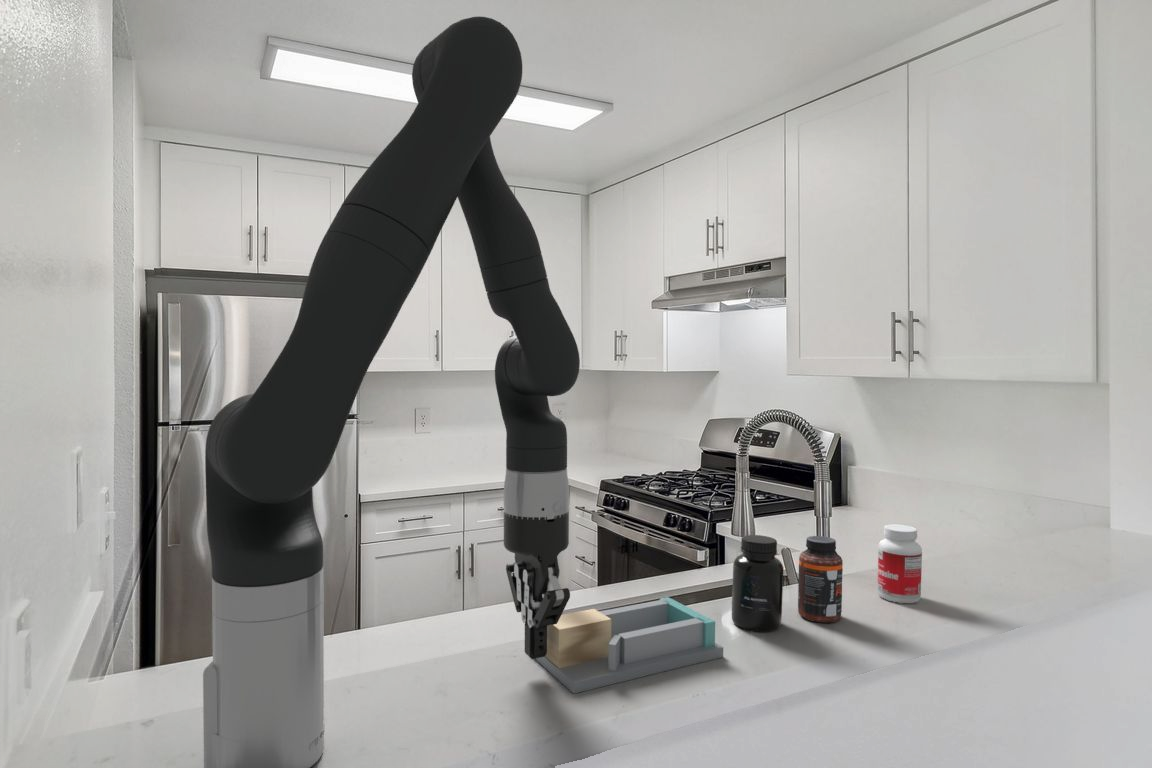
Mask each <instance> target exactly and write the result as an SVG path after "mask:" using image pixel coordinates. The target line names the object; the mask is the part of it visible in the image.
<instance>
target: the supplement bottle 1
mask: <svg viewBox="0 0 1152 768" xmlns="http://www.w3.org/2000/svg"><path fill="white" fill-rule="evenodd" d="M740 545H741V546H740V552H741V554H740V555H738V556H736V557H735V558H734V560H733V565H732V566H733V567H732V589H731V590H732V591H731V593H732V594H731V620H732V623H734V625H736V626H737V627H738V628H740V629H743V630H746V631H751V632H757V633H758V632H759V633H767V632H769V633H770V632H773V631H776V630H778V629H780V627H781V625H782V619H783V618H782V617H783V598H784V597H783V593H784V592H783V591H784V590H783V589H784V565H783V563H782V561H781V560H780V559H778V558H777V557H776V556H777V554H778V549H777V547H778V541H777V539H776V538H774V537H771V536H766V535H760V534H749V535H743V536H742V537H741V543H740Z"/></svg>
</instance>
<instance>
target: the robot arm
mask: <svg viewBox="0 0 1152 768" xmlns="http://www.w3.org/2000/svg"><path fill="white" fill-rule="evenodd" d="M522 78H523V58H522V53H521V50H520V47H519V44H518V41H517V40H516V38H515V36H514V34H513V33H512V32H511V30H510V29H509V28H508V27H507V26H505V25H504V24H503V23H501V21H499V20H496V19H494V18H492V17H491V18H490V17H486V16H472V17H467V18H463V19H460V20H458V21H456V22H454V23H451V25H449V26H448V27H446V28H445V29H444V30H443V31H442V32H440V33H439V34H438V35H436V37H435V38H433V39H432V40H431V41H429V42H428V43H427V44H426V45H425V46H424V47H423V48H422V49H421V50H420V51H419V52H418V54H417V56H416V57H415V60H414V63H413V65H412V73H411V79H412V88H413V90H414V91H413V92H414V95H415V98H416V100H417V105H416V106H415V109H414V110H413V111H412V113H411V115H410V117H409V118H408V120H407V121H406V122H405V124H404V125H403V127H401V129H400V131H399V132H398V133H397V134H396V135H394V138H393V139H391V141H390V142H389V143H388V144H387V145H386V147H384V149H383V150H382V151H381V152H380V154H378V156H377V157H376V158H375V159H374V160H373V162H372V163H371V164H370V165H369V167H368V168H367V169H366V170H365V171H364V172H363V174H362V175H361V177H360V178H359V179H358V180H357V182H356V183H355V184H354V186H353V187H352V189H351V190H350V191H349V192H348V194H347V196H346V197H345V199H344V201H343V202H342V204H341V206H340V207H339V209H338V210H337V213H336V214H335V216H334V218H333V219H332V222H331V223H330V225H329V227H328V229H327V231H326V232H325V234H324V236H323V238H322V240H321V242H320V245H319V247H318V249H317V250H316V254H315V256H314V258H313V261H312V264H311V267H310V270H309V274H308V276H307V280H306V284H305V288H304V290H303V291H304V292H303V297H302V300H301V303H300V308H299V310H298V315H297V318H296V321H295V324H294V326H293V329H292V331H291V333H290V335H289V337H288V339H287V341H286V343H285V345H284V347H283V348H282V350H281V351H280V354H279V355H278V356H277V358H276V360H275V361H274V362H273V365H272V367H271V368H270V369H269V370H268V373H267V374H266V376H265V377H264V378H263V379H262V381H261V383H260V384H259V385H258V387H257V388H256V389H255V391H254V392H253V393H249V394H246V395H245V394H244V395H242V396H240V397H237V398H235V399H233V400H232V401H230V402H228V403H227V404H226V405H224V406H223V407H222V408H221V409H220V411H218V413H217V414H216V415H215V416H214V418H213V419H212V421H211V424H210V425H209V427H208V432H207V436H206V441H205V451H204V452H205V453H204V454H205V455H204V459H205V461H204V462H205V464H204V465H205V466H204V467H205V471H204V472H205V473H204V474H205V502H206V503H205V504H206V531H207V532H206V534H207V541H208V545H209V552H210V558H211V559H210V560H211V587H212V588H211V589H212V590H211V591H212V592H211V596H212V597H211V598H212V599H211V601H212V602H211V603H212V604H211V605H212V607H211V608H212V609H211V610H212V661H211V662H210V663H209V664H208V665H207V666H206V667H205V668H204V670H203V672H202V689H203V690H202V699H203V700H202V701H203V703H202V705H203V706H202V707H203V709H202V710H203V711H202V712H203V718H202V719H203V722H202V723H203V725H202V726H203V768H311V767H312V766H314V765H315V764H316V763H317V762H318V761H319V760H320V758H321V757H322V756H323V752H324V749H325V721H324V720H325V715H324V711H325V710H324V709H325V690H324V689H325V685H324V684H325V683H324V682H325V674H324V672H325V669H324V665H325V664H324V663H325V662H324V660H325V659H324V656H325V654H324V653H325V652H324V651H325V650H324V649H325V648H324V647H325V646H324V644H325V643H324V637H325V636H324V631H325V630H324V541H323V537H322V535H321V532H320V529H319V527H318V526H319V525H318V523H317V519H316V515H315V509H314V501H313V500H314V498H313V497H314V496H313V487H314V486H315V485H317V484H318V483H319V481H320V480H321V479H322V477H323V476H324V475H325V474H326V472H327V470H328V469H329V466H330V464H331V463H332V460H333V458H334V455H335V453H336V450H337V447H338V445H339V442H340V440H341V437H342V434H343V432H344V429H345V427H346V425H347V424H346V423H347V421H348V418H349V415H350V412H351V410H352V408H353V405H354V402H355V400H356V397H357V394H358V393H359V390H360V387H361V385H362V383H363V381H364V378H365V375H366V374H367V372H368V370H369V367H370V366H371V364H372V362H373V360H374V358H375V356H376V355H377V353H378V352H379V350H380V348H381V346H382V345H383V343H384V341H385V340H386V338H387V336H388V334H389V332H390V330H391V328H392V327H393V324H394V322H395V320H396V318H397V316H399V313H400V311H401V309H402V307H403V306H404V304H405V301H406V300H407V298H408V296H410V293H411V291H412V289H413V288H414V286H415V285H416V283H417V280H418V278H419V277H420V274H421V273H422V271H423V269H424V267H425V265H426V262H427V261H428V258H429V257H430V255H431V253H432V250H433V249H434V247H435V244H436V243H437V239H438V237H439V234H440V233H441V230H442V229H443V226H444V225H445V223H446V222H447V218H448V217H449V215H450V212H451V211H452V209H453V206H454V205H455V202H456V200H457V199H458V200H457V201H459V205H460V207H461V210H462V213H463V215H464V219H465V222H466V224H467V228H468V231H469V233H470V234H469V235H470V236H471V240H472V243H473V247H474V250H475V254H476V255H475V256H476V258H477V262H478V267H479V269H480V270H479V272H480V274H481V278H482V283H483V286H484V288H485V289H484V290H485V292H486V297H487V299H488V303H489V306H490V308H491V311H492V312H493V313H494V315H496V316H497V317H499V318H502V319H505V320H506V321H507V322H508V323H509V324H510V325H511V327H512V329H513V331H514V333H515V335H514V336H513V335H512V336H511V337H509V338H508V339H507V340H506V341H504V342H503V343H502V345H501V346H500V348H499V350H498V352H497V355H496V359H495V365H494V381H495V388H496V393H497V398H498V403H499V408H500V412H501V416H502V420H503V423H504V428H505V433H506V439H505V442H506V444H505V446H506V447H505V449H506V450H505V456H506V457H505V458H506V459H505V460H506V461H505V462H506V463H505V478H504V484H503V485H504V486H503V546H504V548H505V550H507V551H509V552H510V553H513V554H514V562H513V563H506V565H505V571H506V576H507V579H508V582H509V583H508V584H509V587H510V591H511V596H512V599H513V603H514V607H515V611H516V613H521V621H522V623H523V624H524V653H525V655H526V656H528V657H529V658H530V659H531V660H536V659H535V658H540V657H544V656H545V655H546V654H547V625H554V624H557V623H558V621H559V619H560V617H561V615H563V612H564V610H565V608H566V606H567V604H568V602H569V600H570V598H571V592H570V589H569V588H568V587H566V588H564V587H563V588H562V587H561V584H560V582H559V576H560V567H559V566H560V565H559V561H558V560H559V559H558V556H559V554H561V552H564V551H565V550H567V548H568V547H569V544H570V538H569V537H570V485H569V478H568V469H567V468H568V432H567V427H566V424H565V422H564V421H563V420H562V419H560V418H559V417H556V416H555V415H554V414H553V413H552V412H551V408H550V404H549V399H548V397H557V396H561V395H563V394H566V393H567V392H569V391H570V390H571V389H572V388H573V387H574V386H575V384H576V382H577V381H578V380H577V379H578V377H579V373H580V365H581V361H580V352H579V348H578V344H577V341H576V338H575V337H574V334H573V332H572V330H571V328H570V326H569V324H568V322H567V319H566V318H565V316H564V313H563V312H562V310H561V308H560V306H559V304H558V302H557V300H556V299H555V297H554V295H553V294H552V291H551V288H550V282H549V279H548V275H547V270H546V265H545V262H544V258H543V255H542V253H543V252H542V250H541V247H540V242H539V238H538V235H537V234H536V231H535V229H534V226H533V224H532V222H531V220H530V217H529V216H528V214H527V212H526V211H525V209H524V208H523V206H522V204H521V203H520V202H519V200H518V199H517V197H516V195H515V194H514V192H513V191H512V189H511V188H510V186H509V184H508V182H507V181H506V179H505V177H504V175H503V173H502V171H501V169H500V167H499V164H498V162H497V158H496V156H495V154H494V150H493V146H492V141H491V136H492V134H493V133H494V131H495V129H496V128H497V127H498V125H499V124H500V122H501V121H502V119H503V117H504V116H505V114H506V113H507V112H508V110H509V109H510V107H511V106H512V104H513V103H514V101H515V99H516V98H517V95H518V94H519V90H520V88H521V83H522V80H523V79H522Z"/></svg>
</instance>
